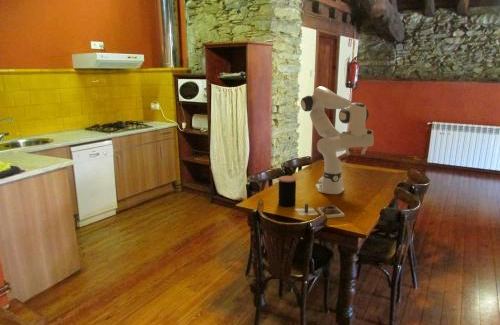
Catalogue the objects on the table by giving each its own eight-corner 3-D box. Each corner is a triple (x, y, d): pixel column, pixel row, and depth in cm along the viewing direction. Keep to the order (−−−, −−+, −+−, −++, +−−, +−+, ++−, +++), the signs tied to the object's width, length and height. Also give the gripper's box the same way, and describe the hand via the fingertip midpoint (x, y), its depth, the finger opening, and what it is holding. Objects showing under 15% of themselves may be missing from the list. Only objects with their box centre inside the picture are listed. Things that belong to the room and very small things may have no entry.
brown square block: (326, 216, 203) (326, 209, 202) (323, 211, 209) (324, 205, 208) (337, 215, 203) (337, 209, 202) (334, 211, 209) (334, 205, 208)
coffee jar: (298, 207, 218) (299, 179, 213) (282, 209, 215) (283, 181, 210) (290, 201, 228) (291, 175, 223) (275, 203, 224) (276, 176, 220)
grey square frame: (316, 211, 211) (317, 207, 211) (335, 210, 213) (335, 206, 213) (324, 219, 200) (324, 215, 199) (344, 218, 202) (344, 214, 201)
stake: (294, 210, 213) (294, 201, 212) (312, 209, 215) (312, 200, 214) (300, 217, 203) (300, 208, 202) (318, 216, 205) (318, 207, 203)
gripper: (342, 132, 199) (341, 156, 203) (376, 131, 202) (374, 154, 206) (338, 130, 205) (336, 153, 209) (370, 129, 208) (368, 152, 212)
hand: (355, 154), depth 207 cm, fingers open, 8 cm apart
